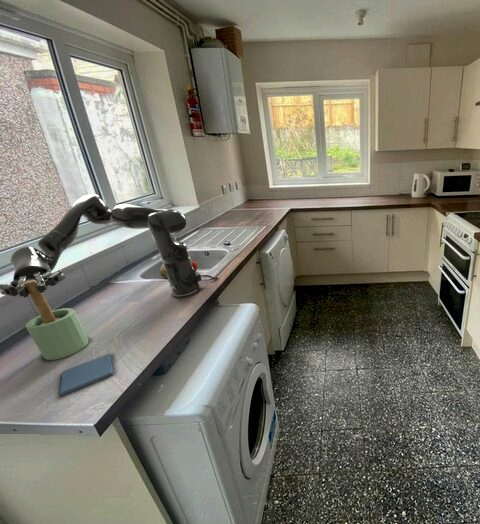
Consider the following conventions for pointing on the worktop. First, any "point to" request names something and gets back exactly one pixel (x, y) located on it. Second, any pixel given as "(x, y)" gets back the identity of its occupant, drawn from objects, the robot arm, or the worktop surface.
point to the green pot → (58, 334)
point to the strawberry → (194, 265)
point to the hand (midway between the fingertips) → (32, 291)
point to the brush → (39, 302)
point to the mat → (86, 374)
